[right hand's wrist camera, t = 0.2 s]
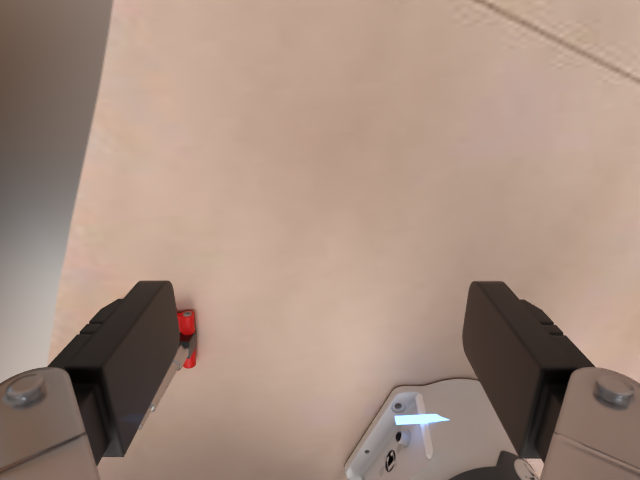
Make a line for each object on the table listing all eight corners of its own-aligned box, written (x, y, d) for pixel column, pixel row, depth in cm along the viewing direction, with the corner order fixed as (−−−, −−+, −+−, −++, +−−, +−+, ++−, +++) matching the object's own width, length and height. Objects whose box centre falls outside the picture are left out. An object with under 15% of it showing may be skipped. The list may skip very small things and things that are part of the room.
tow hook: (118, 359, 48) (198, 367, 47) (43, 454, 35) (150, 465, 35) (111, 294, 44) (196, 303, 44) (26, 374, 32) (143, 386, 32)
